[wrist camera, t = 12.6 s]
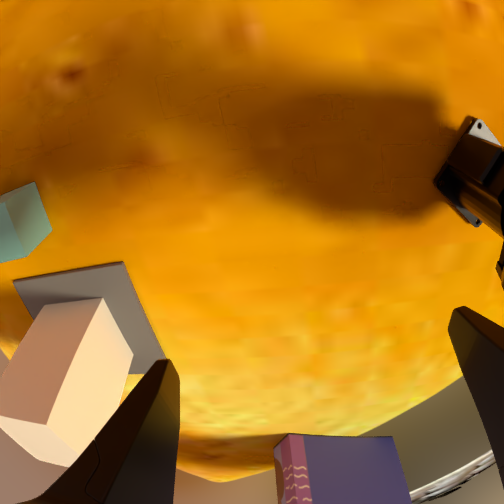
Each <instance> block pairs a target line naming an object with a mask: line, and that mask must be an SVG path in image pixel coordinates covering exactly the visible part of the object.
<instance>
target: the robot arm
mask: <svg viewBox="0 0 504 504" xmlns="http://www.w3.org/2000/svg"><path fill="white" fill-rule="evenodd" d="M478 123H479V126H478V127H477V124H478ZM441 180H442V183H441V184H440V185H439V182H440V181H441ZM433 183H434V186H435V188H437V189H438V190H439V191H440V192H441V193H442V194H443V195H444V196H445V197H446V198H447V199H448V200H449V201H450V202H451V203H452V204H453V205H454V206H455V207H456V208H457V209H458V210H459V211H460V212H461V213H462V215H463V216H464V217H465V218H466V219H467V220H468V221H469V222H470V223H471V224H472V225H473V226H474V227H479V226H480V225H481V224H482V222H483V223H485V224H486V225H487V226H488V227H490V228H491V229H492V230H493V231H495V232H496V233H497V234H498V235H499V236H501V237H502V238H503V239H504V147H502V146H501V145H500V143H499V142H498V140H497V139H496V138H495V136H494V135H493V134H492V132H491V131H490V130H489V128H488V127H487V126H486V125H485V123H484V122H483V121H482V120H481V119H477V118H475V119H474V120H473V121H472V122H471V124H470V126H469V127H468V129H467V131H466V132H465V134H464V135H463V136H462V138H461V139H460V141H459V142H458V144H457V146H456V147H455V149H454V150H453V152H452V153H451V155H450V156H449V158H448V160H447V161H446V163H445V164H444V166H443V167H442V168H441V170H440V171H439V173H438V174H437V176H436V177H435V179H434V182H433ZM476 220H477V221H476ZM496 271H497V273H498V275H499V277H500V279H501V282H502V287H503V289H504V241H503V246H502V250H501V254H500V258H499V261H497V265H496ZM448 333H449V336H450V339H451V342H452V344H453V347H454V350H455V353H456V356H457V359H458V362H459V365H460V368H461V371H462V373H463V376H464V378H465V380H466V382H467V385H468V387H469V390H470V392H471V394H472V397H473V399H474V402H475V404H476V407H477V409H478V411H479V414H480V417H481V419H482V422H483V425H484V428H485V430H486V433H487V436H488V439H489V442H490V444H491V447H492V451H493V454H494V457H495V460H496V463H497V466H498V469H499V474H500V477H501V481H502V484H503V488H504V328H503V327H501V326H500V325H498V324H496V323H494V322H493V321H491V320H489V319H487V318H486V317H484V316H482V315H480V314H479V313H477V312H475V311H473V310H471V309H470V308H468V307H466V306H461V307H458V308H455V309H454V310H453V312H452V315H451V319H450V322H449V326H448ZM179 430H180V380H179V375H178V373H177V371H176V369H175V367H174V365H173V363H172V361H171V360H170V359H158V360H156V361H155V362H154V364H153V365H152V366H151V367H150V369H149V370H148V371H147V372H146V374H145V375H144V376H143V377H142V379H141V380H140V381H139V382H138V384H137V385H136V386H135V387H134V389H133V390H132V391H131V392H130V394H129V395H128V396H127V397H126V399H125V400H124V401H123V402H122V404H121V405H120V406H119V407H118V409H117V410H116V411H115V412H114V414H113V415H112V416H111V417H110V419H109V420H108V421H107V423H106V424H105V425H104V426H103V428H102V429H101V430H100V431H99V433H98V434H97V435H96V436H95V438H94V439H95V440H94V439H93V440H92V441H91V443H90V444H89V445H88V446H87V448H86V449H85V450H84V451H83V452H82V454H81V455H80V456H79V457H78V458H77V459H76V461H75V462H74V463H73V464H72V465H71V466H70V467H69V468H68V469H67V470H66V471H65V472H64V473H63V474H62V475H61V476H60V477H59V478H58V479H57V480H56V481H55V482H54V483H53V484H52V485H51V486H50V487H49V488H48V489H47V490H46V491H45V492H44V493H43V494H41V495H40V496H38V497H37V498H34V499H32V500H29V501H25V502H21V503H17V504H173V496H174V484H175V483H174V482H175V472H176V461H177V450H178V440H179Z"/></svg>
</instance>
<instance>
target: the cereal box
mask: <svg viewBox="0 0 504 504" xmlns="http://www.w3.org/2000/svg"><path fill="white" fill-rule="evenodd" d="M274 460H275V471H276V484H277V496H278V504H412V501H411V498H410V494H409V491H408V487H407V483H406V480H405V476H404V473H403V470H402V467H401V463H400V460H399V457H398V453H397V450H396V447H395V444H394V441H393V437H392V436H377V437H355V436H325V435H308V434H296V433H288V434H287V435H286V436H285V437H284V438H283V439H282V440H281V441H280V442H279V443H278V444H277V445H276V446H275V447H274Z"/></svg>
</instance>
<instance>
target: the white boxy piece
mask: <svg viewBox="0 0 504 504" xmlns="http://www.w3.org/2000/svg"><path fill="white" fill-rule="evenodd" d="M133 355H134V354H133V353H132V351H131V349H130V348H129V346H128V344H127V342H126V340H125V339H124V337H123V335H122V333H121V331H120V330H119V328H118V326H117V324H116V322H115V320H114V318H113V316H112V314H111V313H110V311H109V309H108V307H107V305H106V303H105V301H104V299H103V298H96V299H88V300H80V301H73V302H65V303H57V304H48V305H44V306H43V308H42V309H41V311H40V312H39V314H38V316H37V317H36V319H35V320H34V322H33V323H32V325H31V327H30V328H29V330H28V331H27V333H26V335H25V336H24V338H23V339H22V341H21V343H20V344H19V346H18V348H17V350H16V351H15V353H14V355H13V356H12V358H11V360H10V362H9V364H8V365H7V367H6V369H5V371H4V373H3V375H2V376H1V378H0V428H1V429H2V430H3V431H4V432H6V433H7V434H8V435H9V436H10V437H11V438H12V439H13V440H15V441H16V442H17V443H18V444H19V445H20V446H21V447H23V448H24V449H25V450H26V451H28V452H29V453H30V454H31V455H32V456H34V457H35V458H36V459H37V460H41V461H44V462H48V463H53V464H57V465H61V466H66V467H70V466H71V465H72V464H73V463H74V462H75V461H76V459H77V458H78V457H79V456H80V455H81V454H82V452H83V451H84V450H85V449H86V448H87V446H88V445H89V444H90V443H91V441H92V440H93V439H94V438H95V436H96V435H97V434H98V433H99V431H100V430H101V429H102V428H103V426H104V425H105V424H106V423H107V421H108V420H109V419H110V417H111V416H112V415H113V414H114V412H115V411H116V410H117V409H118V407H119V404H120V400H121V396H122V393H123V389H124V385H125V382H126V378H127V375H128V372H129V368H130V365H131V361H132V358H133ZM94 440H95V439H94Z"/></svg>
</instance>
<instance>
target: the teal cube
mask: <svg viewBox="0 0 504 504" xmlns="http://www.w3.org/2000/svg"><path fill="white" fill-rule="evenodd" d="M51 231H52V227H51V225H50V222H49V220H48V217H47V215H46V212H45V209H44V207H43V204H42V201H41V198H40V195H39V192H38V190H37V187H36V184H35V182H32V183H30V184H27V185H25V186H22V187H20V188H17V189H15V190H12V191H10V192H8V193H5V194H3V195H1V196H0V263H2V262H6V261H11V260H15V259H19V258H23V257H27V256H28V255H29V254H30V253H31V252H32V251H33V250H34V249H35V248H36V247H37V245H38V244H39V243H40V242H41V241H42V240H43V239H44V238H45V237H46V236H47V235H48V234H49V233H50V232H51Z"/></svg>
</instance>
